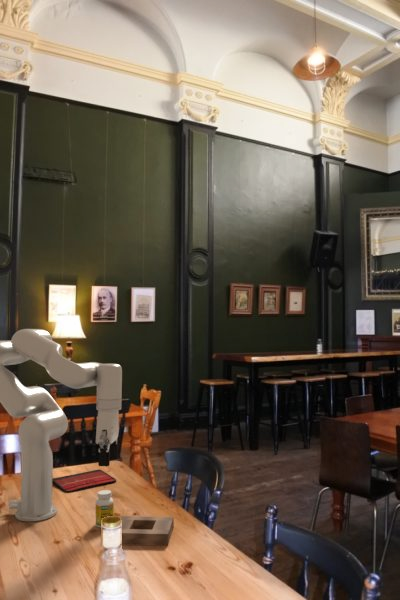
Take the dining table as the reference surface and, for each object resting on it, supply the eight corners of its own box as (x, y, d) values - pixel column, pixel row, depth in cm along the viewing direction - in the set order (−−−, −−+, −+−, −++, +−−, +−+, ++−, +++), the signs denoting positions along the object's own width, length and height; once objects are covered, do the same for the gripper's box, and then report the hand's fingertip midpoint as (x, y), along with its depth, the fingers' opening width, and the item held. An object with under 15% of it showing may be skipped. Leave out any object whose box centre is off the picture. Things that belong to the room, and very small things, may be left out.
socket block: (109, 544, 130) (109, 532, 130) (120, 526, 142) (120, 516, 142) (167, 545, 129) (167, 534, 129) (173, 527, 141) (173, 517, 141)
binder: (50, 478, 185) (99, 468, 198) (49, 484, 184) (99, 474, 197) (66, 490, 172) (118, 479, 185) (66, 496, 172) (118, 485, 185)
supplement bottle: (109, 520, 147) (109, 488, 148) (116, 525, 143) (116, 492, 143) (92, 524, 144) (92, 491, 145) (99, 530, 140) (99, 496, 140)
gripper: (104, 400, 155) (103, 453, 154) (88, 408, 138) (87, 469, 137) (127, 400, 155) (126, 454, 154) (114, 409, 137) (113, 470, 136)
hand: (108, 461), depth 145 cm, fingers open, 9 cm apart
